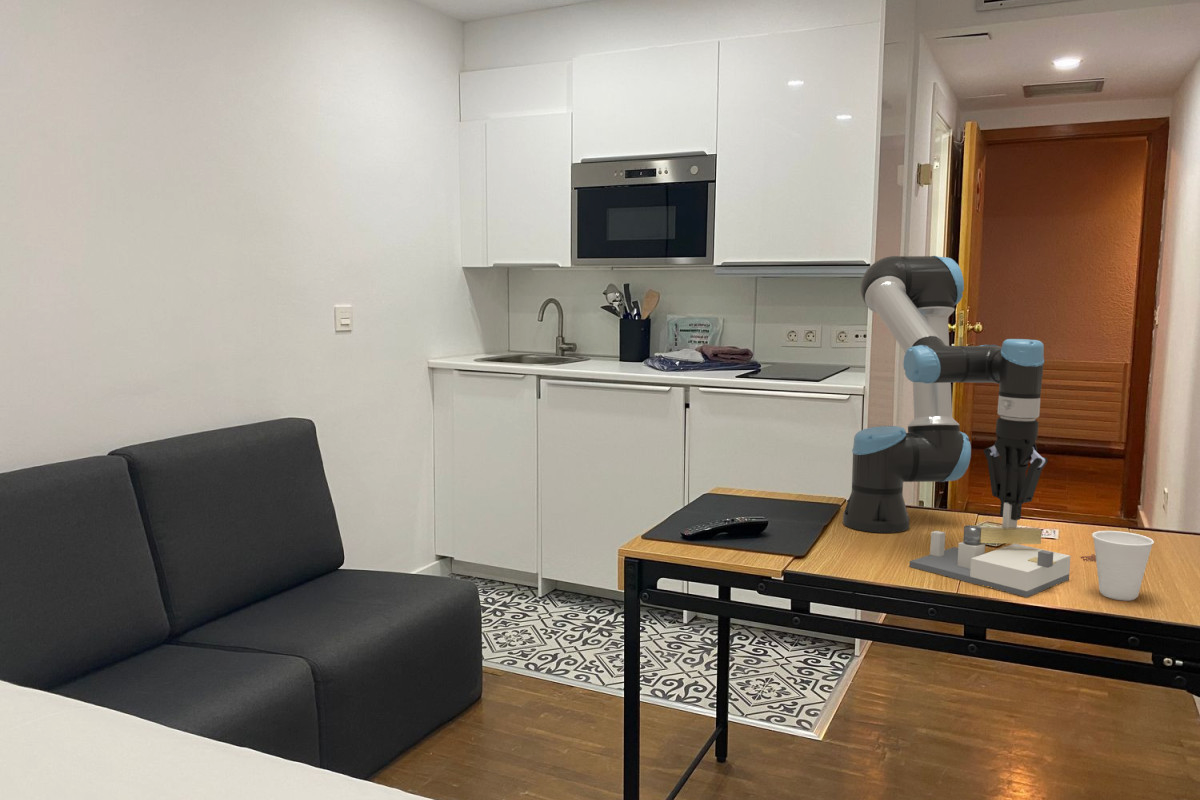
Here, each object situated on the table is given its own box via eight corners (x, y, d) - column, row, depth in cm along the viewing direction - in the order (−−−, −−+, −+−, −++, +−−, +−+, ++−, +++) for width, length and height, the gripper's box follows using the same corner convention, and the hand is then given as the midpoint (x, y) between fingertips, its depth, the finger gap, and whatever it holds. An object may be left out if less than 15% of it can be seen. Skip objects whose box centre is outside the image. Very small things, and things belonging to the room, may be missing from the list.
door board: (909, 566, 186) (911, 531, 185) (954, 552, 197) (955, 518, 196) (1031, 599, 167) (1034, 559, 166) (1074, 580, 178) (1076, 543, 177)
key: (1073, 558, 195) (1099, 579, 181) (1073, 554, 195) (1098, 574, 181) (1103, 557, 194) (1131, 578, 180) (1103, 553, 194) (1131, 574, 180)
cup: (1091, 600, 166) (1095, 541, 165) (1084, 584, 175) (1088, 528, 174) (1154, 607, 163) (1159, 547, 161) (1143, 590, 172) (1148, 533, 171)
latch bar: (966, 544, 181) (967, 529, 180) (961, 539, 184) (961, 525, 184) (1042, 545, 180) (1043, 530, 180) (1035, 541, 183) (1036, 526, 183)
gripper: (977, 414, 184) (969, 529, 187) (1035, 423, 173) (1025, 545, 176) (1001, 412, 188) (993, 524, 191) (1059, 421, 177) (1050, 540, 180)
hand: (1008, 534), depth 184 cm, fingers closed
